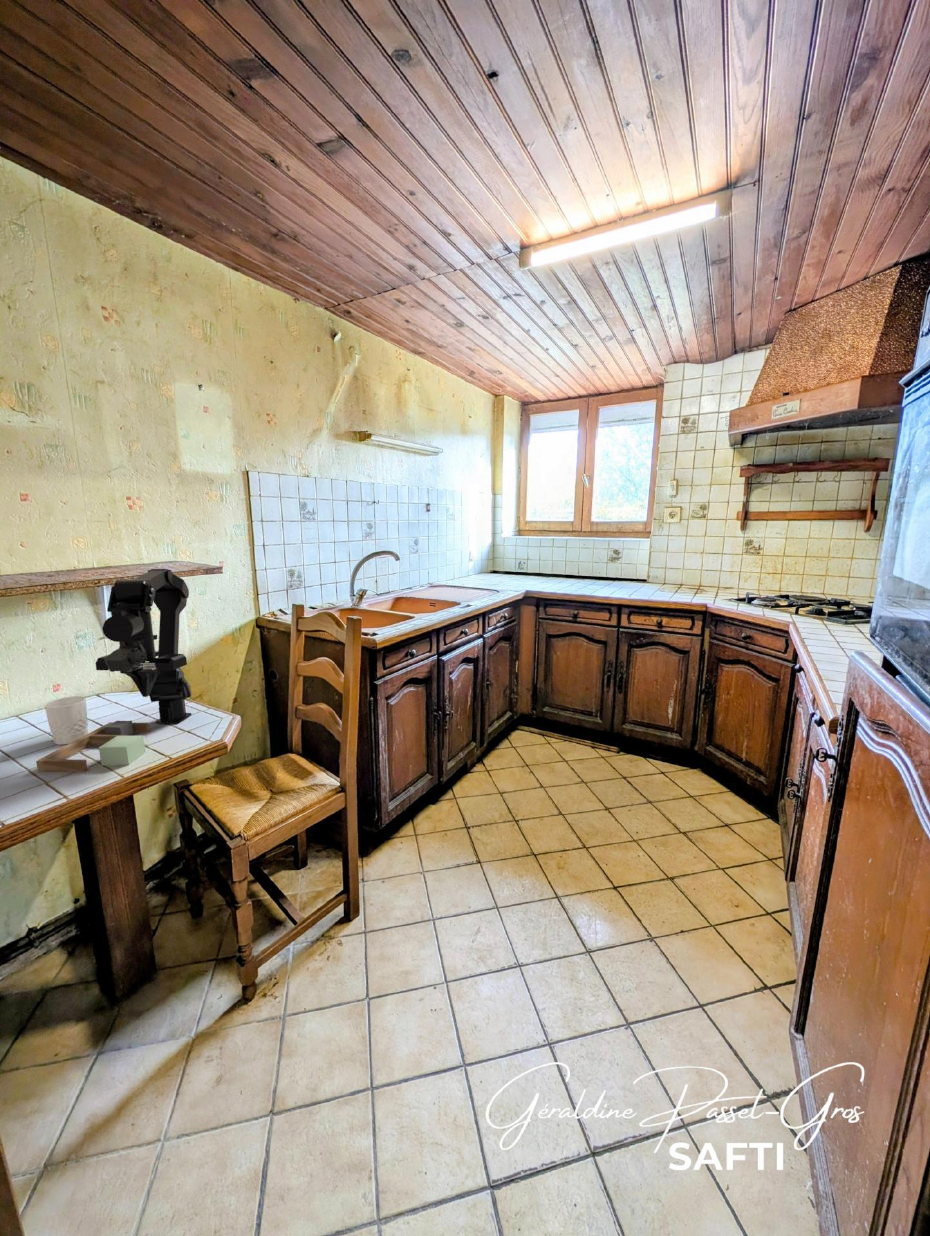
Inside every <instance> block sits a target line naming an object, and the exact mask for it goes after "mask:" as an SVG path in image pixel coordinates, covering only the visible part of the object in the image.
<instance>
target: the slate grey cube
mask: <svg viewBox="0 0 930 1236" xmlns="http://www.w3.org/2000/svg"><path fill="white" fill-rule="evenodd" d="M132 723H133V721H132V720H115V721H113V723H111V724H109V725H108V726H106V727H104V728H105V734H106V735H128V736H135V733H133V726H132Z"/></svg>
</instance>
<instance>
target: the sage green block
mask: <svg viewBox="0 0 930 1236" xmlns="http://www.w3.org/2000/svg"><path fill="white" fill-rule="evenodd" d="M144 738H145V737H144V735H133V736H116V737H115V738H113V739H112V740H110V741H108V742H107V743H105V744H104V745H99V747H98V751H99V758H100V764H101V766H106V767H107V766H130V765H131V764H133V763H134V762H136V761H137V760H138V759H139V758H140V757H143V755H144V754H145V753H146V747H145V739H144Z"/></svg>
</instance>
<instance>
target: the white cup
mask: <svg viewBox="0 0 930 1236" xmlns="http://www.w3.org/2000/svg"><path fill="white" fill-rule="evenodd" d="M44 709H45V714H46V718H47V722H48V726H49V730H50V732H51V736H52V739H53V743H54V744H55V745H58V746H59V745H61V746H62V745H64V746H65V745H68V744H70V743H71V742H73V741H75V740H77V739H79V738H81V737H83V736H85V735H87V734H89V729H88V727H89V723H88V721H89V720H88V709H87V699H86V697H85V696H82V695H80V696H79V695H78V696H77V695H76V696H75V695H74V696H66V697H61V698H57V699H53V700H51V701H48V702H46V703H45V704H44Z"/></svg>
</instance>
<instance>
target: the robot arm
mask: <svg viewBox="0 0 930 1236" xmlns="http://www.w3.org/2000/svg"><path fill="white" fill-rule="evenodd" d="M189 597H190V592H189V587H188V585H187V584H186V582H185V580H184V579H183V578H181V577H179V576H178V575H176V574H175V573H173V571H172V570H171V569H168V568H152V569H148V571H147V572H145V573H143V574H142V575H140V576H138V577H136V578H135V579H120V580H119V579H118V580H116V581H115V582H114V584H113V585H112V586H111V588H110V593H109V599H108V604H107V610H106V611H107V613H110V615H111V616H110V617H108V618H106V619H105V620H104V622H103V623H102V624H103V625H102V627H101V628H102V633H103V635H104V636H105V637H106V639H107V640H109V641H113V642H116V643H117V642H118V644H119V646H118V648H117V649H115V650H113V651H112V652H111V653H109V654H107V655H104V656H100V657H98V658H97V659H96V661H95V670H96V671H110V672H111V673H114V672H119V673H120V674H124V675H126V676H128V677H129V678H131V680H132V681H133V683H134V684H135V686H136V688H137V689H138V691H139V692H140V694H141V696H142V697H143V698H147V697H149V699H150V702H151V703H154V702H158V713H159V714H158V715H159V719H156V720H155V723H154V724H180V723H181V722H182V721H184V720H186V719H187V718H188V717H190V716H192V713H191V712H186V711H187V710H186V700H187V699H188V698H191V697H192V691H191V686H190V684H189V682H188V681H187V679H186V678H185V673H184V671H183V670H182V668H183V667H184V666H187V665H188V661H187V656H185V654H183V653H179V642H180V641H179V639H180V637H179V635H180V614H181V612H182V611H183V610H184V609H185V608H186V606H187V603H188V602H187V601H188V598H189ZM153 604H154V605H155V606H156V608H157V610H158V611H159V629H158V632H159V633H158V634H154V631H153V624H152V623H153V622H152V614H151V611H152V608H151V607H153ZM156 640H158V650H156V647H155V641H156ZM181 667H182V668H181Z"/></svg>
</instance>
